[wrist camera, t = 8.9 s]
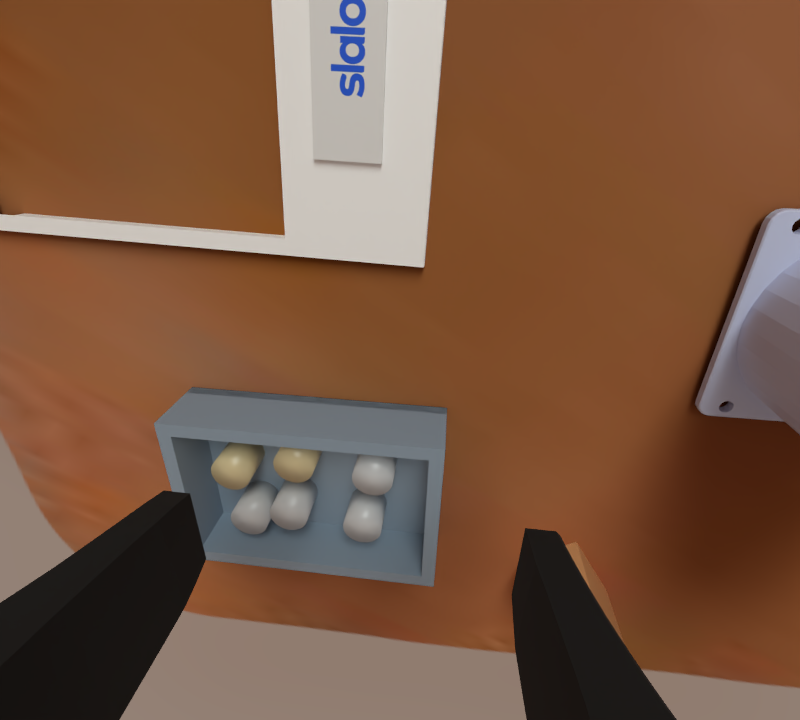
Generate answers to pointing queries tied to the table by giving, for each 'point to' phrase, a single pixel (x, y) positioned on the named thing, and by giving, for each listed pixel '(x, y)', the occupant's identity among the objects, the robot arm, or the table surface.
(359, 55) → the photo frame
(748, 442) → the table surface
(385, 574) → the tub
